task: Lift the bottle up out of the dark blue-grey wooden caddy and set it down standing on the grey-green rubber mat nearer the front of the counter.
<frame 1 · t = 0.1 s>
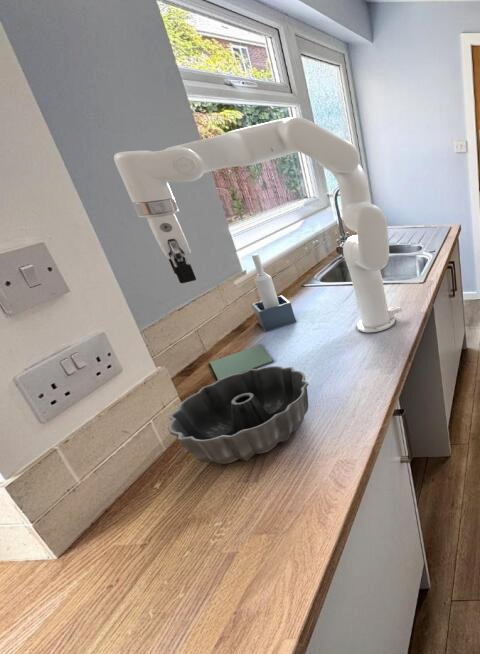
hand: (185, 276, 100), 31 cm above the table, tool pointing down, fingers open, 9 cm apart
caddy: (277, 322, 146), on the table
bundt pan: (256, 433, 93), on the table
bottle: (276, 321, 146), resting in caddy
mat: (241, 362, 122), on the table
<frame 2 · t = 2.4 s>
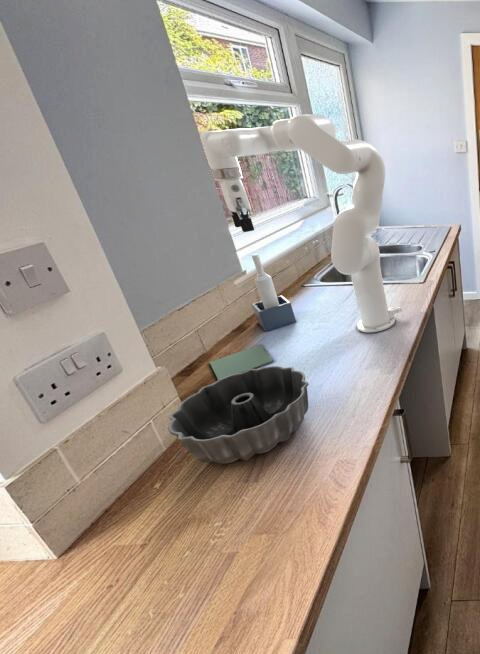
hand: (244, 228, 131), 35 cm above the table, tool pointing down, fingers open, 9 cm apart
nothing on the table moved.
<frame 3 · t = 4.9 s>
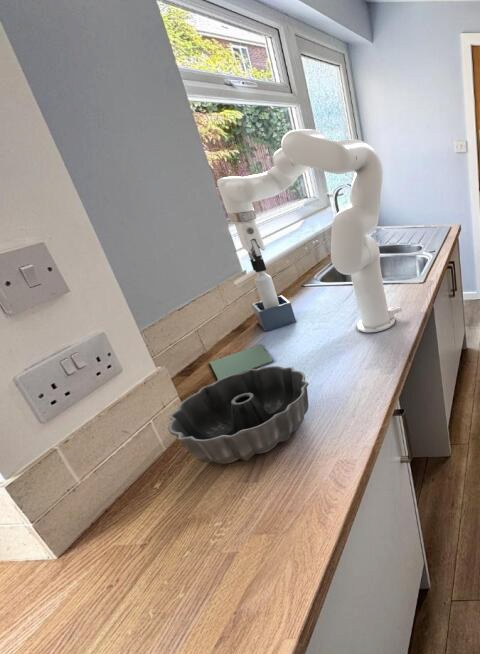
hand: (259, 269, 138), 20 cm above the table, tool pointing down, fingers closed on bottle, 2 cm apart
bottle: (276, 321, 146), resting in caddy, touching gripper
everything else where it was.
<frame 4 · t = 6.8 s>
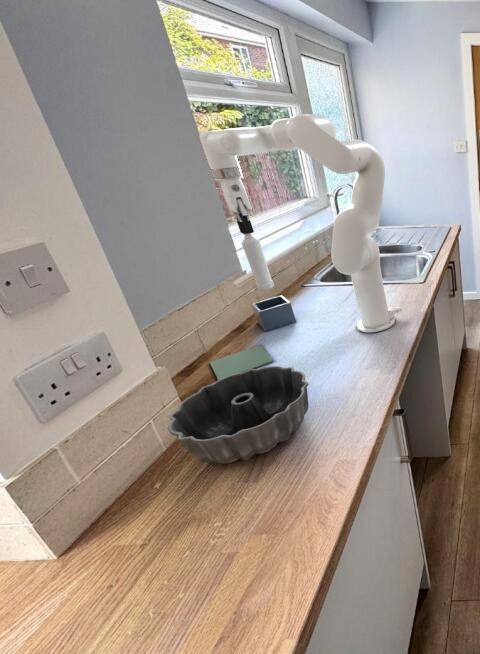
hand: (247, 232, 132), 33 cm above the table, tool pointing down, fingers closed on bottle
bottle: (266, 288, 140), point 14 cm above the table, touching gripper
everything else where it was.
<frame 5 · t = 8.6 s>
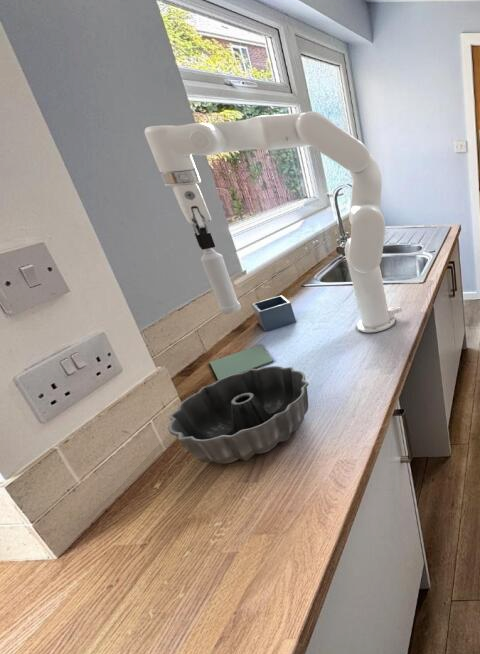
hand: (207, 246, 111), 35 cm above the table, tool pointing down, fingers closed on bottle
bottle: (231, 311, 119), point 15 cm above the table, touching gripper
everything else where it was.
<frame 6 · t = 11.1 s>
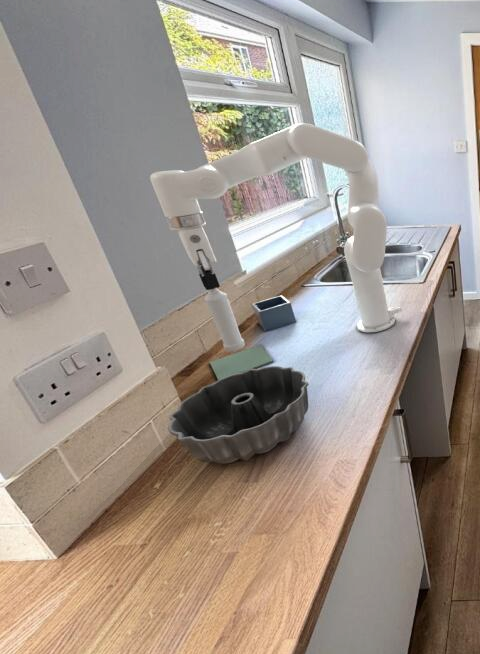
hand: (212, 286, 111), 25 cm above the table, tool pointing down, fingers closed on bottle
bottle: (235, 348, 120), point 5 cm above the table, touching gripper
everything else where it was.
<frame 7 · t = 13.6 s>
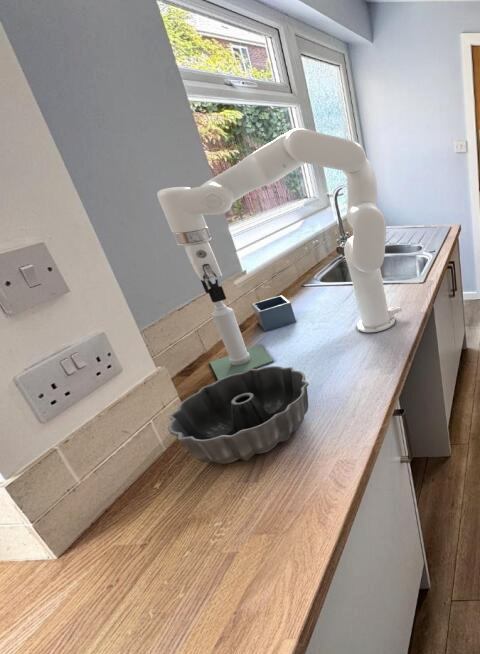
hand: (216, 296, 113), 22 cm above the table, tool pointing down, fingers open, 9 cm apart
bottle: (241, 361, 122), resting on mat
everything else where it was.
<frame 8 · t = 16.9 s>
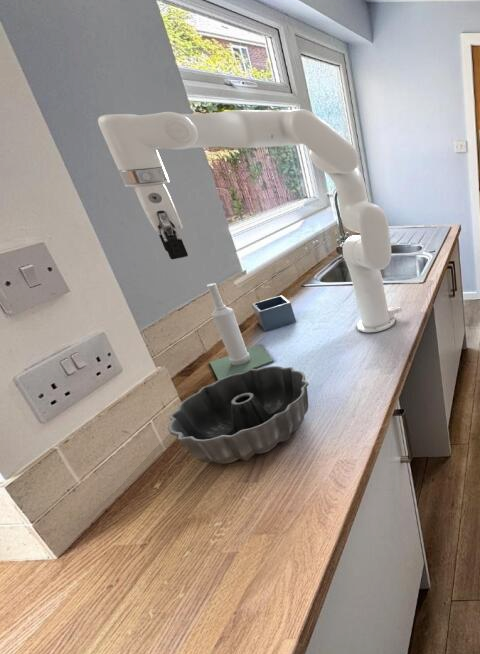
hand: (176, 253, 94), 38 cm above the table, tool pointing down, fingers open, 9 cm apart
nothing on the table moved.
at the end: bottle inside the target area on the mat (0.0 cm from its centre), point 0.3 cm above the mat's base; bottle tilted 0°; bottle touching mat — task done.
